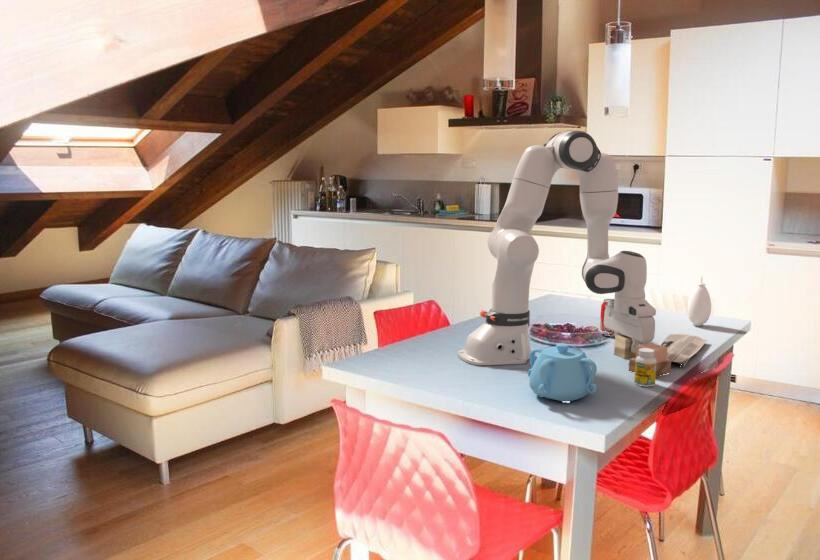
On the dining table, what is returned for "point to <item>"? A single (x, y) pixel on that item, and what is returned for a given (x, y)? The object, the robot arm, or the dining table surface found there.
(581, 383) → the decorative pot
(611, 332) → the soda can
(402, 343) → the dining table surface
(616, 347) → the oak block
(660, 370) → the base block
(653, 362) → the supplement bottle
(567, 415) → the dining table surface
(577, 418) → the dining table surface
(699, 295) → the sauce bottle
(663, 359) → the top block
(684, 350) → the newspaper
